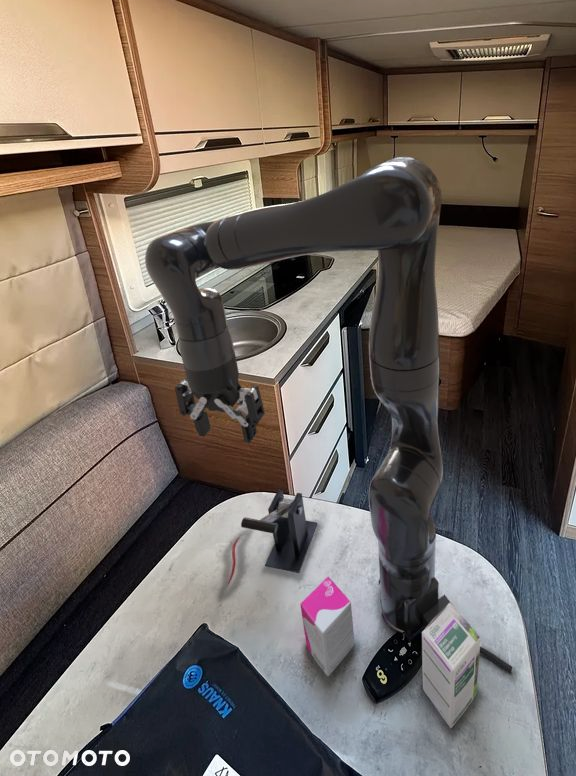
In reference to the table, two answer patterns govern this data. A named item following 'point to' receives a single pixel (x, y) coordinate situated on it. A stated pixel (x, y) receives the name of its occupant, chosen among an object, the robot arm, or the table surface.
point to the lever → (269, 518)
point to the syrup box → (450, 663)
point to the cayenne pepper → (233, 560)
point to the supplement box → (328, 625)
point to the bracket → (290, 535)
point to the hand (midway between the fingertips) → (227, 436)
